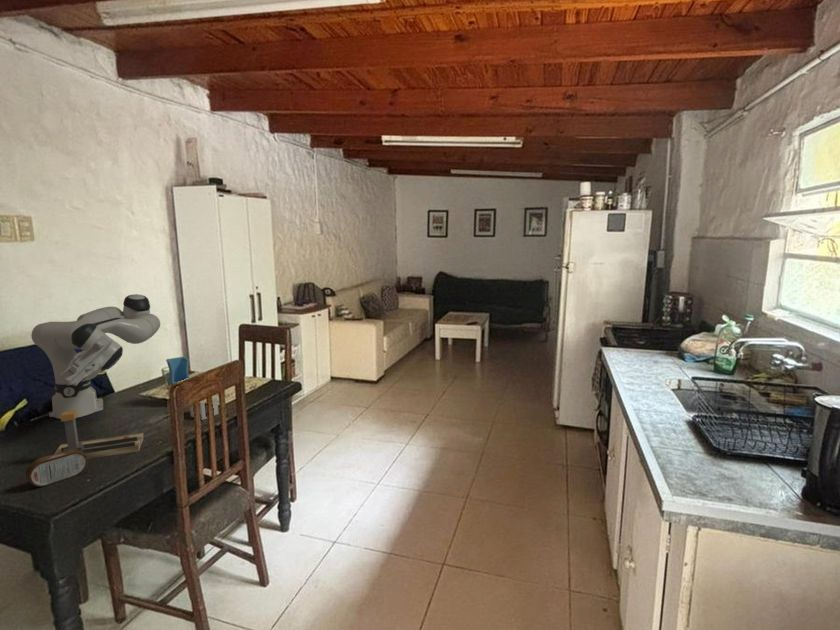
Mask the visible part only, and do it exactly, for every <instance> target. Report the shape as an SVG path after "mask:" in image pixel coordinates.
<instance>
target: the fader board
mask: <svg viewBox="0 0 840 630" xmlns="http://www.w3.org/2000/svg"><path fill="white" fill-rule="evenodd" d="M144 434H145V433H144V432H139V433H131V434H123V435H118V436H111V437H105V438H104V437H103V438H97V439H89V440H83V441H78V442H79V445H80V444H84V449H83V450H81V451H83V452H84V453H85V455H86V456H87V458H88V460H91V459H97V458H104V457H110V456H118V455H123V454H124V455H125V454H129V453H135V452H139V451H140V450H141V446H142V443H143V441H144V438H145V435H144ZM67 446H68V444H67V443H63V444H60V445H59V447H58V448H56V451H55V452H54V453H53V454H57V453H60V452H63V450H64V449H65V447H67Z"/></svg>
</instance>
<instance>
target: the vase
mask: <svg viewBox="0 0 840 630" xmlns="http://www.w3.org/2000/svg"><path fill="white" fill-rule="evenodd" d="M165 361H166V364H167V367H168V371H169V373H168V378H167V385H168V387H169V386H170V384H172V383H175V382H178V381H181V380H184V379H186V378H189V377H190V375H189V364H190V359H189V358H188V357H186V356H179V357H174V358H173V357H172V358H168V359H167V358H166V360H165Z"/></svg>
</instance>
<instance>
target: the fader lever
mask: <svg viewBox="0 0 840 630" xmlns="http://www.w3.org/2000/svg"><path fill="white" fill-rule="evenodd" d="M77 416H78V415H77V410H75V411H67V412H63V413H62V414H61V419H60V422H63V423H64V428H65V436H66V444H68V446H67V447H65V449H64V450H63V452H64V451H67V450H71V449H78V450H83V449H84V444H80V445H79V442H80V441H79V436H78V429H77V422H76V419H77V418H78V417H77ZM76 417H77V418H76Z"/></svg>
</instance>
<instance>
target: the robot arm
mask: <svg viewBox="0 0 840 630" xmlns="http://www.w3.org/2000/svg"><path fill="white" fill-rule="evenodd" d="M160 328H161V321H160V318H159V317H158V316H157V315H155V314H152V313H151V304H150V300H149V298H148V297H147V296H145V295H143V294H137V293H135V294H129V295H127V296H125V297H124V300H123V310H121V309H120V308H119V307H116V306H105V307H101V308H97V309H93V310H91V311H89V312H86V313H83V314H80V315H79V316H78V318H77V319H76V320H74V321H47V322H43V323H38V324H37V325H35V326H34V328H33V329H32V331H31V335H30V336H31V340H32V342H33V343H34V344H35V345H36V346H37V347H39V348H40V349H41V350H42V351H43V352H44V353H45V354H46V355H47V357H48V359H49V362H50V363H51V366H52V369H53V375H54V381H55V382H54V387H53V388H54V391H55V394H54V395H53V396H52V397H51V401H52V403H51V404H52V405H51V406H52V411H51V413H49V414H48V417H49V418H56V419H60V420H61V414H62V413H63V412H67V411H75V410H77V415H78V416H77V417H76V419H77V418H81V417H84V416H88V415H91V414H93V413H96V412H100V411H103V410H104V400H103V398H101V397H99V398H97V390H96V389H95V388H94V387H92V383H91V380H93V379H94V378H97V376H98V375H99V373H100V372H101V371H102V372H103V371H107V370H110V369H111V368H113V366H114V365H116V363H118V361H120V359H121V358H122V356H123V352H124V351H123V350H124V349H123V346H122V345H121V344H119V343H118V342H117V341H116V340H114V339H113V338H111V337H110V336H109V335H108V334H111V335H113V336H115V337H117V338H119V339H120V340H122V341H124V342H126V343H129V344H131V345H132V344H133V345H134V344H135V345H138V344H142V343H144V342H147V340H149V339H151V338H152V337H154V335H155V334H156V333H157V332H158V330H160ZM76 350H81V351H80V352H76Z"/></svg>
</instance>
